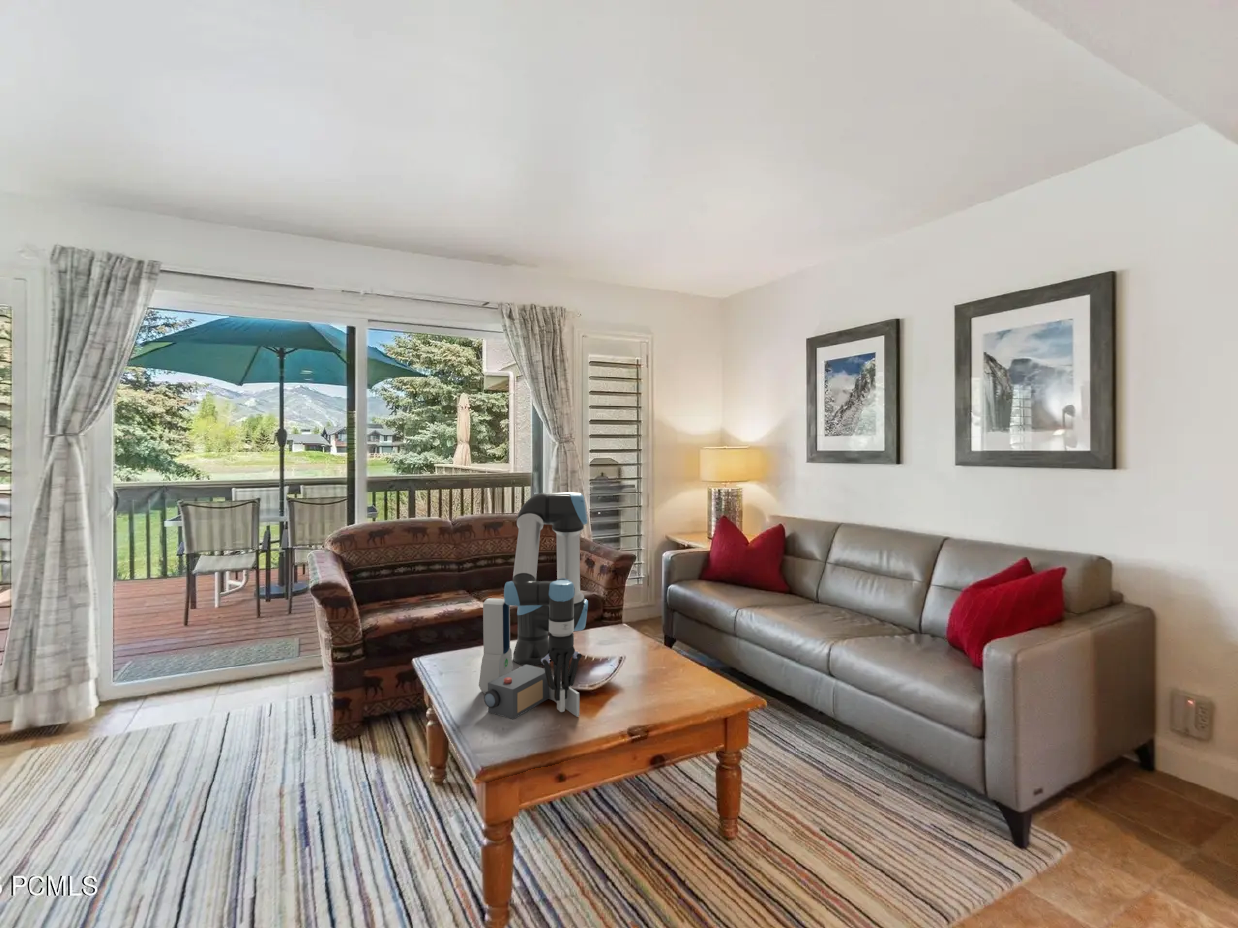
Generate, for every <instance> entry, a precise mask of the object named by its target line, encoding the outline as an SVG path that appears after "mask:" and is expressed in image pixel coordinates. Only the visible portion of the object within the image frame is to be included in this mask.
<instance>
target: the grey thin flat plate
mask: <svg viewBox="0 0 1238 928" xmlns="http://www.w3.org/2000/svg"><path fill="white" fill-rule="evenodd" d="M552 676H553V680H554V674H552ZM561 687H562V685H561ZM549 700H552V701H554V703H556V704H557V701H556V700H555V698H554V690H552V689H551V688H550V687H549ZM565 710H567V711H568V712H569V713H571V714H572V715H574V716H575V718H576V717H579V716H580V692H578V691H577V690H576V689H574V688H572V687H571V686H570V687H569V690H567V699H565Z"/></svg>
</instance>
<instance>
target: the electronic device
mask: <svg viewBox="0 0 1238 928" xmlns="http://www.w3.org/2000/svg"><path fill="white" fill-rule="evenodd" d="M510 606H511V605H506V604H505V601H504V598H493V597H491V598H486V599H485V600H484V602H483V603H482V610H483V612H482V614H483V615H482V618H483V619H482V620H483V621H482V624H483V625H482V627H483V629H482V631H483V632H482V633H483V637H482V638H483V654H482V658H481V664H480V672H479V681H478V687H479V689H480V690H481V692H482V694H485V693H486V692H487V691H488V682H490V681H492V680H495V679H497V678H499V677H501V676H503V675H505V674H507V673H509V672H511V671H513V651H512V648H511V616H510V615H511V611H510V610H511V609H510Z"/></svg>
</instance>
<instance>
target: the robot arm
mask: <svg viewBox="0 0 1238 928" xmlns="http://www.w3.org/2000/svg"><path fill="white" fill-rule="evenodd" d="M586 507H587V506H586V501H585V497H584V494H583V493H581V492H572V491H570V492H569V491H567V492H563V491H562V492H540V493H537V494H535V495H532V496H531V497H529V499H527V500H526V501H525V503H524V504H523V505H522V506H521V507H520V510H519V512H518V515H517V519H516V526H517V528H518V534H517V542H516V548H515V556H514V557H515V558H514V564H513V573H512V574H513V575H512V580H510V581H506V582H505V584H504V587H503V588H504V589H503V599H504V601H505V604H506V605H510V606H514V607H515V606H516V607H517V612H516V615H517V641H516V643H515V647H514V651H513V652H512V661H513V662H514V663H516V664H518V665H521V666H524V665H526V664H527V665H531V666H538V665H537V664H540V665H543V669H544V670H545V674H546V678H547V682H548V686H549V687H550V688H551V689H552V690H554V698H555V700H556V701H557V703H556V709H557V710H558V711H559V712H560V713H563V712H565V710H566V709H565V699H567V690H569V687H570V688H571V687H573V686H574V684H575V679H576V674H577V670H578V665H579V662H580V660H581V658H582V656H583V655H582V654H581V653H580V652H579V651H576V650H575V649H576V648H575V646H574V645H575V634H574V632H580V631H584V629H585V628H586V624H587V617H588V607H589V600H587V599H586V598H585V595H584V593H583V592H581V560H580V559H581V555H580V554H581V553H580V552H581V546H580V545H581V542H580V540H581V538H580V537H581V536H580V533H581V532H583V530H584V526H586V525H587V524H588V514H587V512H588V511H587V508H586ZM544 525H551V528H552V531H553V532H554V533H555V534H556V535H555V537H556V571H557V572H556V576H557V577H556V578H557V579H556V580H542V581H541V580H540V581H539V580H537V574H538V573H537V571H538V562H539V561H538V560H539V551H540V550H539V549H540V539H541V538H540V536H541V531H542V530H543V528H544ZM549 659H551V661H552V663H553V673H552V668H551V665H550V663H551V661H550V660H549ZM570 661H571V662H570ZM541 663H542V664H541ZM552 675H553V676H554V680H553V676H552ZM561 685H562V687H561Z"/></svg>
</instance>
